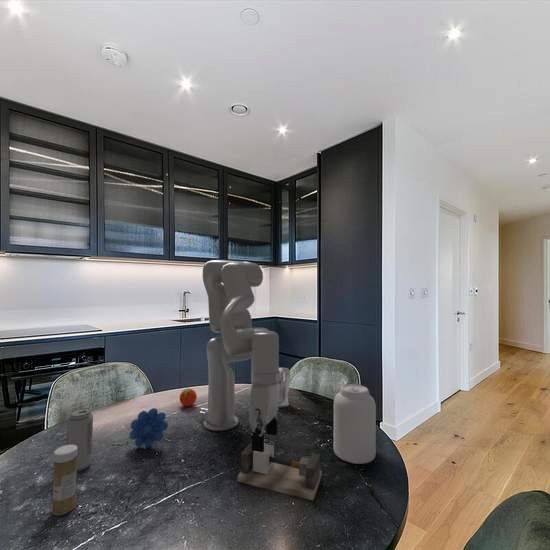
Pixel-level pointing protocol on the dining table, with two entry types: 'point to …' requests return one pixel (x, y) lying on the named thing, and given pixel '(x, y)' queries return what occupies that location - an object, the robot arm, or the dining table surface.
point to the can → (354, 424)
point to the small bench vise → (283, 475)
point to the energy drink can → (81, 436)
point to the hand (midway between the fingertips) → (265, 442)
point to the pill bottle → (64, 479)
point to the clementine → (188, 397)
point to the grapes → (148, 428)
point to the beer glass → (283, 386)
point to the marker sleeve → (263, 459)
